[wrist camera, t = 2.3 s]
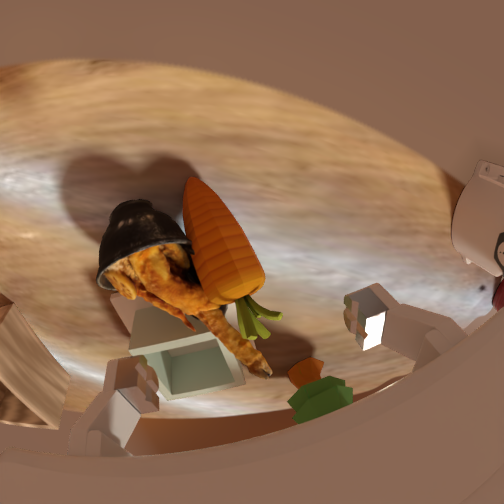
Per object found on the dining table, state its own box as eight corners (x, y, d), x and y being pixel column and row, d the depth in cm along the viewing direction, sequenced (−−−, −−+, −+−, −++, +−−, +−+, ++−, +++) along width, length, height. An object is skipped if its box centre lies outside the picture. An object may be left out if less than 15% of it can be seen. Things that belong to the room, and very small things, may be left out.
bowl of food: (73, 195, 17) (157, 447, 13) (206, 163, 22) (305, 376, 18) (92, 245, 25) (156, 419, 21) (189, 217, 30) (258, 374, 26)
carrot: (161, 169, 21) (236, 356, 17) (218, 153, 22) (301, 325, 19) (166, 200, 25) (228, 354, 22) (214, 184, 27) (281, 329, 23)
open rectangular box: (231, 261, 29) (243, 302, 23) (255, 347, 36) (268, 388, 30) (111, 294, 28) (97, 337, 22) (159, 370, 35) (158, 411, 29)
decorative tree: (270, 367, 39) (337, 554, 13) (327, 339, 38) (422, 517, 13) (291, 392, 44) (349, 543, 18) (340, 368, 43) (415, 513, 17)
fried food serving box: (14, 302, 25) (-17, 356, 17) (70, 376, 33) (58, 429, 24) (-37, 319, 24) (-62, 360, 15) (11, 380, 31) (-3, 422, 23)
